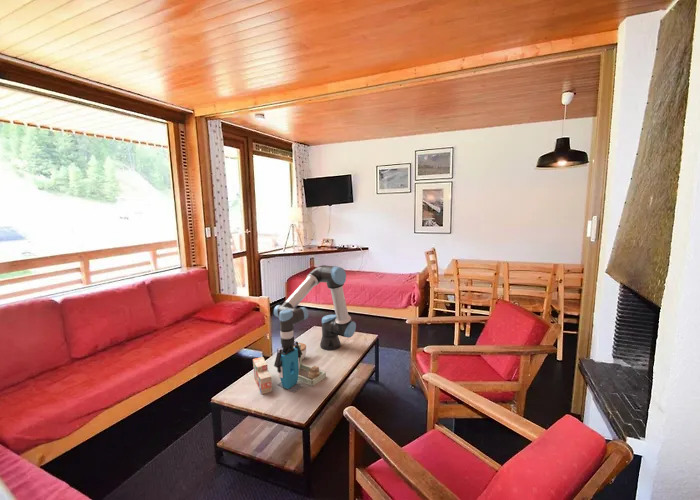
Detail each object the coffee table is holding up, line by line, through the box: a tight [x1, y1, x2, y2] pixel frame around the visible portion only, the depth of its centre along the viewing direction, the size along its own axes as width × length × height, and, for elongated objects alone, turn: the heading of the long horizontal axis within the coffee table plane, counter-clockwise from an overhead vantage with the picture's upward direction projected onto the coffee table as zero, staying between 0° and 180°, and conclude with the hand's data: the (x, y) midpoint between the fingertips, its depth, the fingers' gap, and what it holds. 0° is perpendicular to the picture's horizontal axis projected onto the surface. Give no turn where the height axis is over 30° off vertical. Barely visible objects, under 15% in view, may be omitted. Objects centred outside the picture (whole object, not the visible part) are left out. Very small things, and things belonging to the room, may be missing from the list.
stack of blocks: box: [252, 356, 273, 395], centre depth 189 cm, size 21×6×12 cm, turn 27°
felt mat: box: [277, 381, 304, 393], centre depth 187 cm, size 7×14×1 cm, turn 53°
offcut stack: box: [307, 365, 320, 380], centre depth 193 cm, size 6×4×8 cm
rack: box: [294, 344, 327, 387], centre depth 196 cm, size 12×22×16 cm, turn 53°
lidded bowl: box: [294, 342, 307, 360], centre depth 220 cm, size 13×13×11 cm
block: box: [279, 347, 300, 390], centre depth 186 cm, size 12×5×20 cm, turn 149°
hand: (289, 372), depth 186 cm, fingers closed on block, 12 cm apart
